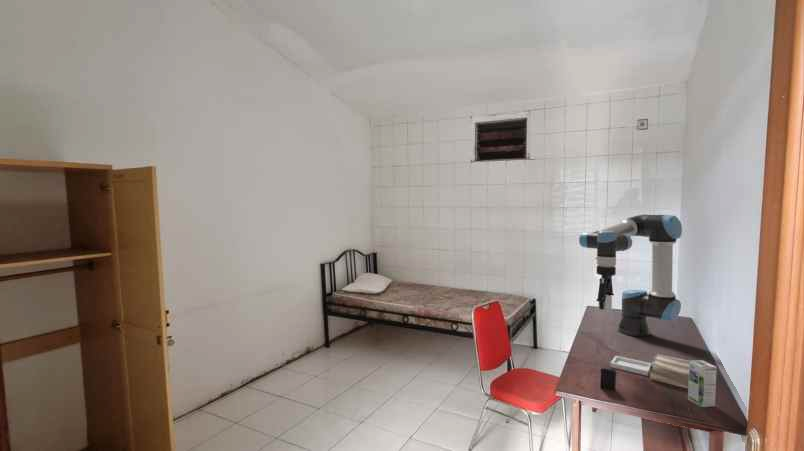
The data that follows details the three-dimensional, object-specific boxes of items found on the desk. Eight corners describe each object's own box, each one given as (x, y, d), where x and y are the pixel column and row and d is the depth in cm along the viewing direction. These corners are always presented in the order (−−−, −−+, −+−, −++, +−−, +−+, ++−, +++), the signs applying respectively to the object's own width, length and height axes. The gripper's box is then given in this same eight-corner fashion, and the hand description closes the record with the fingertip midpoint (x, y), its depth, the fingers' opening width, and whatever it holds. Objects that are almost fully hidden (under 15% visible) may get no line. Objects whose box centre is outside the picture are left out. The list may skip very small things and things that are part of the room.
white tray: (615, 360, 176) (615, 355, 176) (651, 369, 167) (652, 363, 167) (610, 368, 168) (610, 362, 168) (648, 377, 159) (648, 371, 159)
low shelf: (655, 366, 168) (656, 353, 168) (696, 375, 159) (696, 362, 159) (649, 379, 156) (650, 365, 156) (692, 389, 147) (693, 375, 147)
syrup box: (686, 399, 140) (688, 360, 139) (702, 398, 141) (703, 359, 140) (700, 407, 135) (701, 367, 134) (716, 406, 135) (717, 366, 134)
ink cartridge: (615, 389, 148) (616, 369, 148) (614, 391, 147) (615, 371, 146) (601, 385, 151) (602, 365, 151) (600, 387, 150) (601, 367, 149)
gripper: (602, 261, 184) (601, 305, 185) (590, 268, 164) (589, 317, 166) (620, 262, 179) (619, 308, 181) (610, 270, 160) (609, 321, 161)
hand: (605, 312), depth 173 cm, fingers open, 13 cm apart
